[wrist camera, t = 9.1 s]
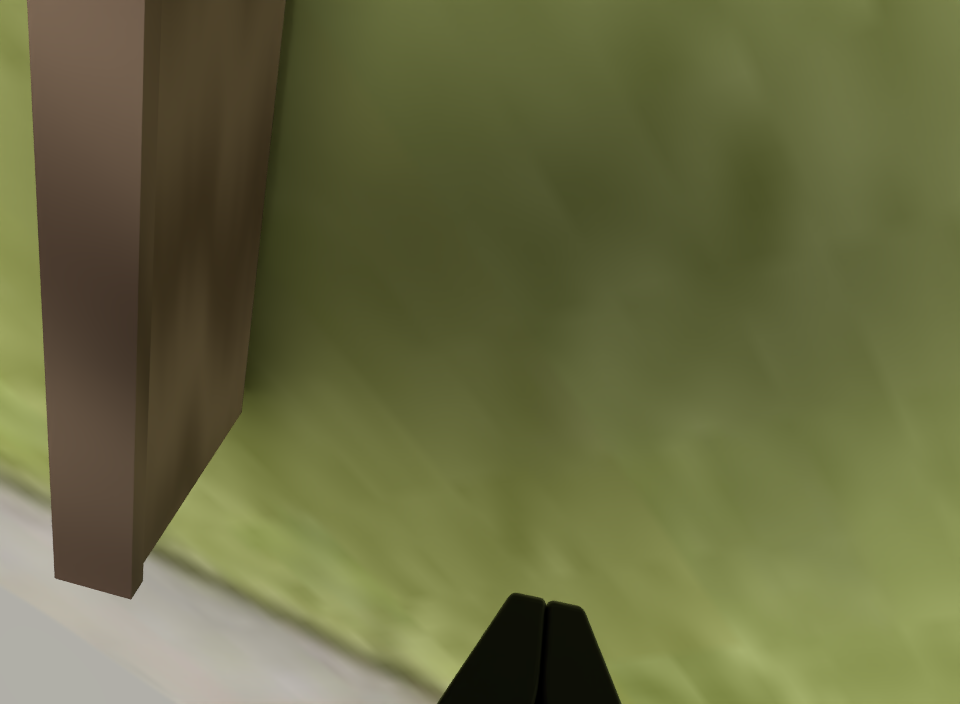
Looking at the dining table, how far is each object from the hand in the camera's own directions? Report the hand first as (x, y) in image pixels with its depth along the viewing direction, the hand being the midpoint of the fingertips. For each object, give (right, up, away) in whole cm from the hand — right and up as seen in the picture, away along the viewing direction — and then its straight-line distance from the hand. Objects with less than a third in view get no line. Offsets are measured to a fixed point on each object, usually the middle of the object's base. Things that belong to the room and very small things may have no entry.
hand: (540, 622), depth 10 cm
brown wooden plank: (-6, +7, +9) cm, 13 cm away
